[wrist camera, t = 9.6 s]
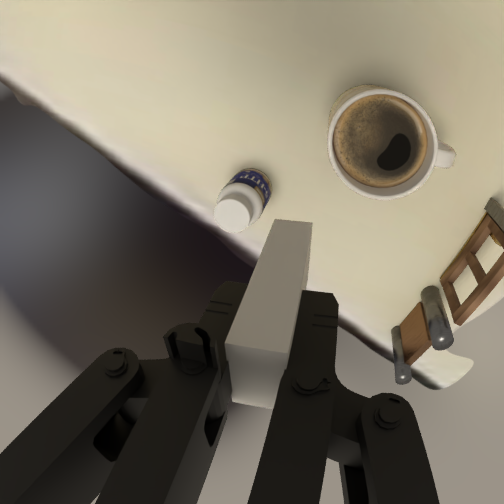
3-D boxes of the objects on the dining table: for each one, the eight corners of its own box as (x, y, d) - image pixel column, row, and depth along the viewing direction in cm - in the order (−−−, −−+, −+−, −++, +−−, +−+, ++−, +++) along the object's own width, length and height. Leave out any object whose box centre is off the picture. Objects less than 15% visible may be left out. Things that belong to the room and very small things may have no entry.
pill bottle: (280, 184, 40) (266, 214, 32) (257, 213, 42) (239, 248, 35) (246, 159, 39) (223, 183, 32) (224, 189, 42) (199, 219, 34)
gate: (445, 283, 40) (460, 326, 33) (439, 280, 40) (454, 323, 33) (493, 218, 33) (520, 253, 26) (487, 214, 33) (515, 248, 26)
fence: (480, 208, 34) (511, 247, 25) (494, 218, 34) (525, 258, 25) (387, 332, 48) (390, 381, 40) (401, 338, 48) (406, 386, 40)
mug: (375, 63, 29) (393, 60, 20) (441, 143, 31) (476, 171, 22) (311, 122, 34) (302, 141, 25) (378, 194, 37) (391, 238, 28)
